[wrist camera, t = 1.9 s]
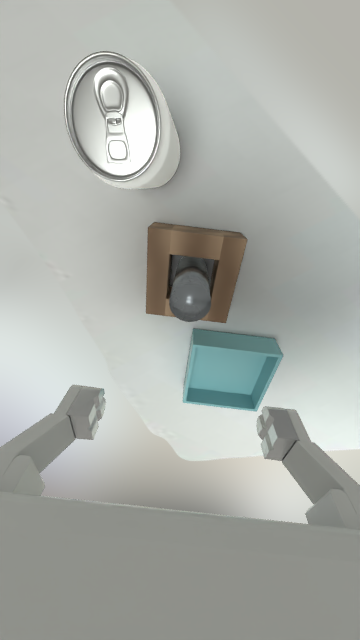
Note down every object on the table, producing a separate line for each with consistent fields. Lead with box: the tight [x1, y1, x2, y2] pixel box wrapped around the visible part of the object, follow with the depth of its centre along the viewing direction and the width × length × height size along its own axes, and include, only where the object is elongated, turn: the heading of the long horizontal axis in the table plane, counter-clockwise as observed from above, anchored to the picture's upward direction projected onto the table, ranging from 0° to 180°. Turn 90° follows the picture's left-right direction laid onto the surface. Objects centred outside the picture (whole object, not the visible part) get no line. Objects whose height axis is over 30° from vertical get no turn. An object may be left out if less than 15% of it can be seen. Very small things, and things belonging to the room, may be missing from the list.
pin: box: [169, 256, 211, 322], centre depth 25 cm, size 4×4×10 cm
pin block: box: [146, 222, 247, 323], centre depth 27 cm, size 11×11×4 cm
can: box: [64, 51, 180, 189], centre depth 17 cm, size 6×6×12 cm
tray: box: [183, 329, 283, 411], centre depth 36 cm, size 13×13×4 cm
